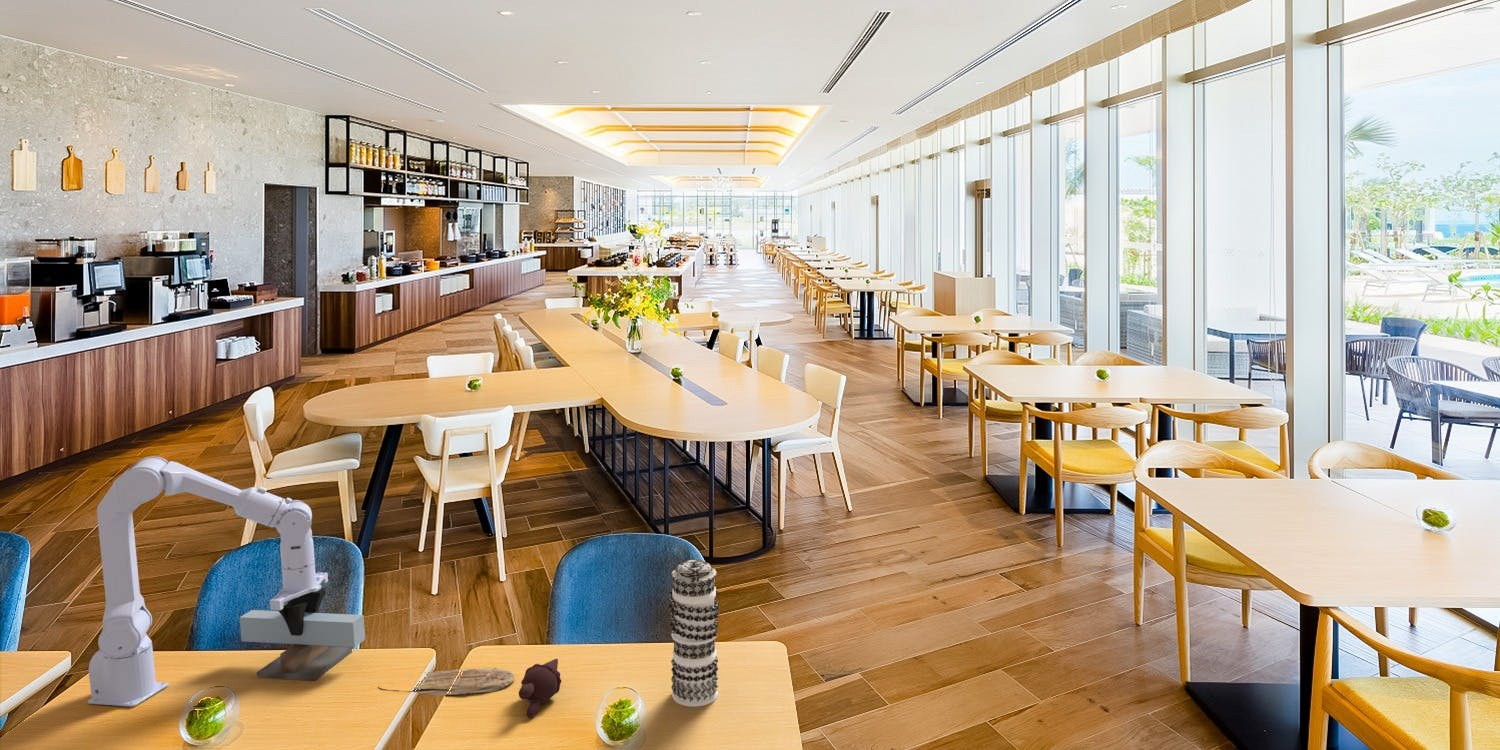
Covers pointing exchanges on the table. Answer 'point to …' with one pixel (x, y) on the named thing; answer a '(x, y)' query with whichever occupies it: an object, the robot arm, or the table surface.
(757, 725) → the table surface
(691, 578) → the white patterned cylinder
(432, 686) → the fish fossil
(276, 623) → the batten
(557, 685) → the icecream
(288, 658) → the fulcrum
